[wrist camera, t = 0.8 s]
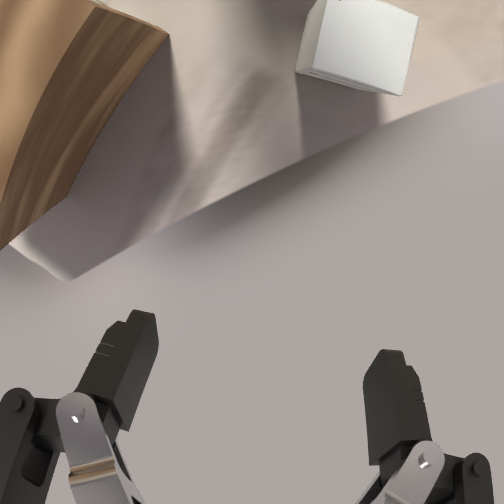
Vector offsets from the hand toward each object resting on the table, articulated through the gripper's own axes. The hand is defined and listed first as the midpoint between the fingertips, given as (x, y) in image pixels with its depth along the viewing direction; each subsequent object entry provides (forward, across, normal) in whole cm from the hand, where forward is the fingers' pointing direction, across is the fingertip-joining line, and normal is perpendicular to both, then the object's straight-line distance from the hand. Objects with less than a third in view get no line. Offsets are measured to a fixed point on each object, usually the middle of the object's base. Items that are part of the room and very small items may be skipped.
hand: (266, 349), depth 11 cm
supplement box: (+30, -4, -11) cm, 32 cm away
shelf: (+27, +27, -5) cm, 39 cm away
